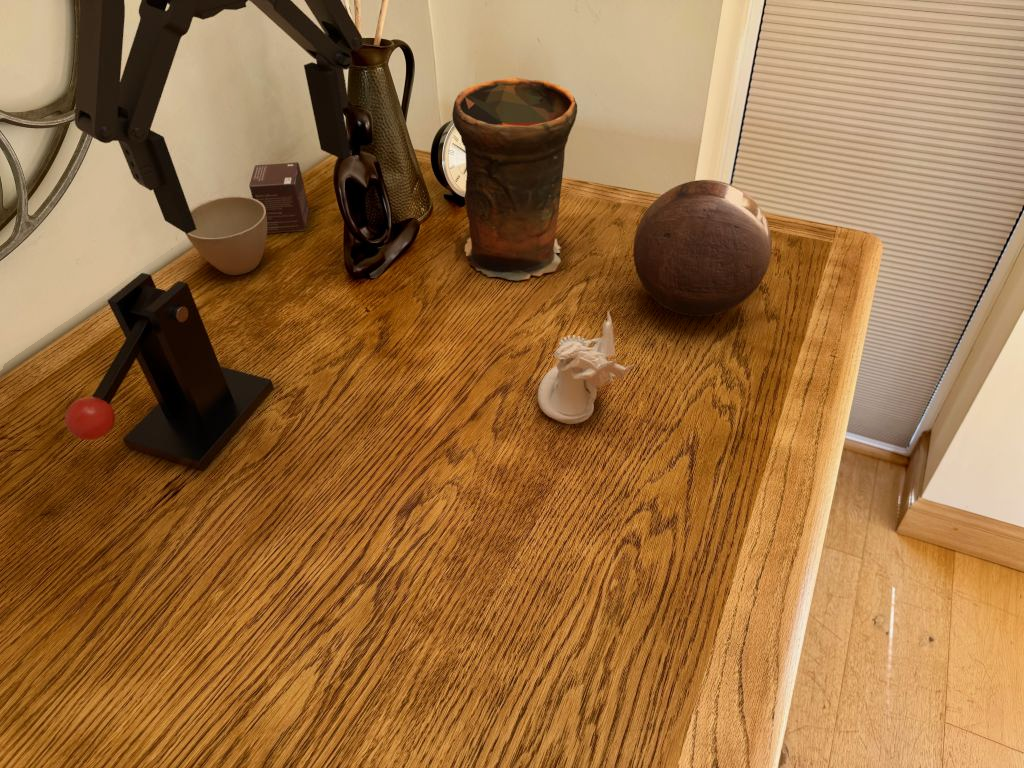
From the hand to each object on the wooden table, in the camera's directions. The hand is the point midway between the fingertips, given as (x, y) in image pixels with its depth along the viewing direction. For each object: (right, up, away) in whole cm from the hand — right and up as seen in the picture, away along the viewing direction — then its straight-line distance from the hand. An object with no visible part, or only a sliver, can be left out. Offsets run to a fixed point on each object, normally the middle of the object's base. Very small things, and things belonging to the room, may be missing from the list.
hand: (263, 187), depth 53 cm
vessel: (+19, +3, +43) cm, 47 cm away
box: (-14, +8, +49) cm, 51 cm away
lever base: (-13, -18, +21) cm, 31 cm away
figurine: (+26, -18, +21) cm, 37 cm away
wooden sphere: (+40, -5, +34) cm, 52 cm away
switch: (-15, -13, +11) cm, 23 cm away
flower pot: (-17, +1, +41) cm, 45 cm away
